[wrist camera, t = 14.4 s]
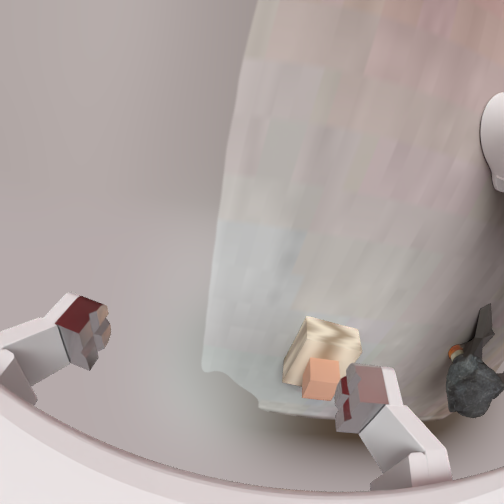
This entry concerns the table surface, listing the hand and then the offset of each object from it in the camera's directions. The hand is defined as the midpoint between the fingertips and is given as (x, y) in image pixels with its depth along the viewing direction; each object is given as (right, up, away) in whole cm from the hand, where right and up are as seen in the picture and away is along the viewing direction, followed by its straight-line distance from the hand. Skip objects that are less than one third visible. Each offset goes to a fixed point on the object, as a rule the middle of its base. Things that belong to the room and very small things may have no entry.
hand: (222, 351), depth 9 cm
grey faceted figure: (+45, -16, +41) cm, 63 cm away
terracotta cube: (+13, -17, +39) cm, 45 cm away
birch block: (+13, -14, +45) cm, 49 cm away
